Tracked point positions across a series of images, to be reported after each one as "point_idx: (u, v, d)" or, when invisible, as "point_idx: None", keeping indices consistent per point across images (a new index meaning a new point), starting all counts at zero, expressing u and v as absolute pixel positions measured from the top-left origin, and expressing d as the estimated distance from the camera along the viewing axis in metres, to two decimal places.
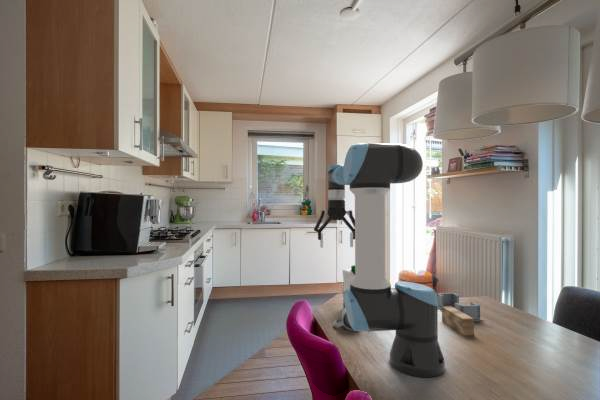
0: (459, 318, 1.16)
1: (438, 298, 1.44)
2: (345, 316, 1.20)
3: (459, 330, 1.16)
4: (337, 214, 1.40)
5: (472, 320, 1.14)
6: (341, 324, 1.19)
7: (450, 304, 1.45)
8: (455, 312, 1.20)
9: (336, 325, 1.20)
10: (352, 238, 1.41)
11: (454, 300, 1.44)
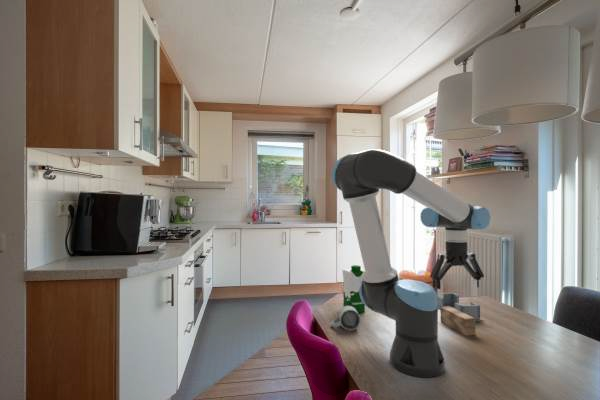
0: (460, 318, 1.16)
1: (438, 298, 1.44)
2: (343, 316, 1.20)
3: (461, 330, 1.15)
4: (458, 258, 1.20)
5: (474, 320, 1.14)
6: (339, 324, 1.19)
7: (450, 304, 1.45)
8: (455, 312, 1.20)
9: (334, 325, 1.20)
10: (476, 286, 1.20)
11: (454, 300, 1.44)
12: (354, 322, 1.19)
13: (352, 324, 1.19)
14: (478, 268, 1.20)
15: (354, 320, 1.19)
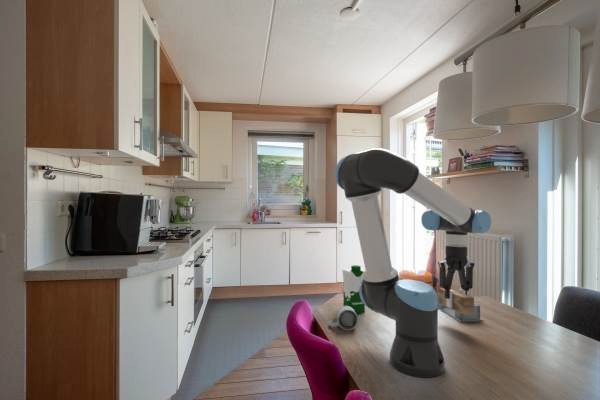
0: (459, 297, 1.16)
1: (438, 298, 1.44)
2: (341, 316, 1.20)
3: (459, 309, 1.15)
4: (458, 262, 1.20)
5: (472, 299, 1.14)
6: (337, 324, 1.19)
7: None
8: (454, 292, 1.20)
9: (332, 325, 1.20)
10: None
11: None
12: (352, 322, 1.19)
13: (350, 324, 1.19)
14: (470, 278, 1.20)
15: (352, 320, 1.19)
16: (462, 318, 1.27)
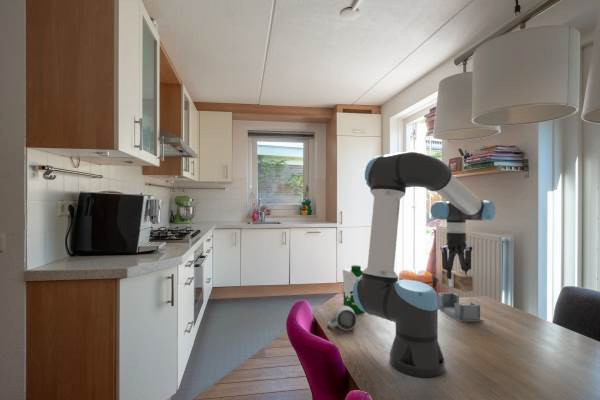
0: (459, 277, 1.32)
1: (438, 298, 1.44)
2: (339, 316, 1.20)
3: (460, 287, 1.32)
4: (458, 246, 1.36)
5: (471, 278, 1.31)
6: (336, 324, 1.19)
7: (450, 304, 1.45)
8: (455, 273, 1.37)
9: (330, 325, 1.20)
10: None
11: (454, 300, 1.44)
12: (351, 322, 1.20)
13: (349, 324, 1.19)
14: (469, 260, 1.36)
15: (351, 320, 1.20)
16: (462, 318, 1.27)
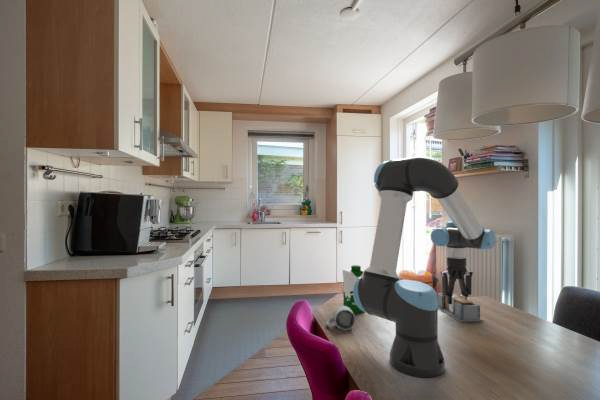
0: (459, 302, 1.32)
1: (438, 298, 1.44)
2: (338, 316, 1.20)
3: None
4: (458, 271, 1.36)
5: (471, 303, 1.30)
6: (334, 324, 1.19)
7: None
8: (455, 297, 1.37)
9: (329, 325, 1.20)
10: None
11: None
12: (349, 322, 1.20)
13: (347, 324, 1.19)
14: (469, 285, 1.36)
15: (349, 320, 1.20)
16: (462, 318, 1.27)
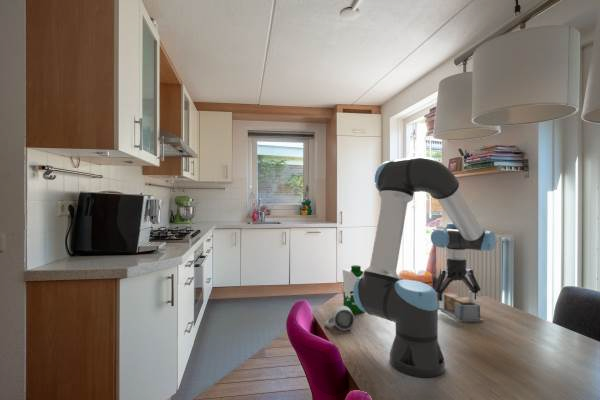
0: (459, 302, 1.32)
1: None
2: (337, 316, 1.20)
3: None
4: (458, 274, 1.36)
5: (471, 303, 1.30)
6: (333, 324, 1.19)
7: None
8: (455, 297, 1.37)
9: (328, 325, 1.20)
10: (473, 299, 1.36)
11: None
12: (348, 322, 1.20)
13: (346, 324, 1.19)
14: (475, 283, 1.36)
15: (348, 320, 1.20)
16: (462, 318, 1.27)
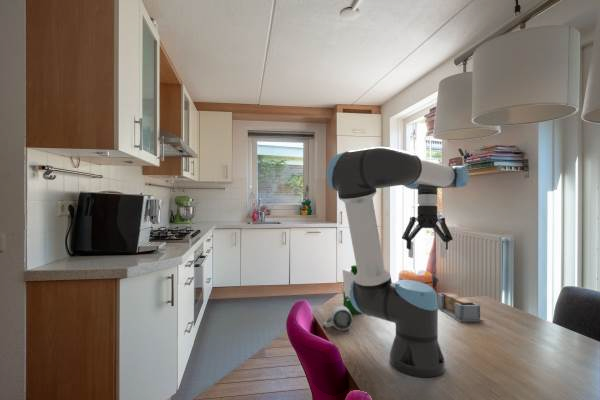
0: (459, 302, 1.32)
1: (438, 298, 1.44)
2: (335, 316, 1.20)
3: None
4: (429, 221, 1.28)
5: (471, 303, 1.30)
6: (331, 324, 1.19)
7: None
8: (455, 297, 1.37)
9: (326, 325, 1.20)
10: (445, 248, 1.27)
11: None
12: (346, 322, 1.20)
13: (344, 324, 1.19)
14: (447, 231, 1.28)
15: (346, 320, 1.20)
16: (462, 318, 1.27)
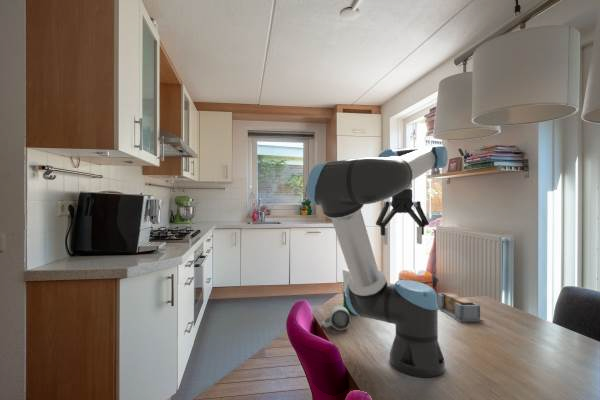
0: (459, 302, 1.32)
1: (438, 298, 1.44)
2: (333, 316, 1.20)
3: None
4: (403, 206, 1.21)
5: (471, 303, 1.30)
6: (330, 324, 1.19)
7: None
8: (455, 297, 1.37)
9: (324, 325, 1.20)
10: (421, 233, 1.21)
11: None
12: (345, 322, 1.20)
13: (343, 324, 1.19)
14: (423, 216, 1.22)
15: (345, 320, 1.20)
16: (462, 318, 1.27)
